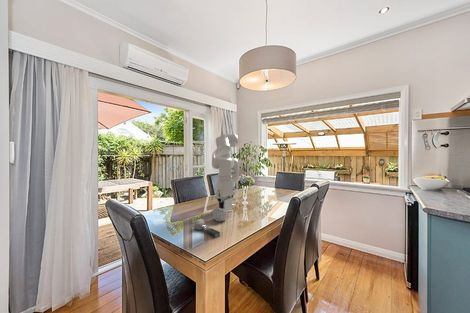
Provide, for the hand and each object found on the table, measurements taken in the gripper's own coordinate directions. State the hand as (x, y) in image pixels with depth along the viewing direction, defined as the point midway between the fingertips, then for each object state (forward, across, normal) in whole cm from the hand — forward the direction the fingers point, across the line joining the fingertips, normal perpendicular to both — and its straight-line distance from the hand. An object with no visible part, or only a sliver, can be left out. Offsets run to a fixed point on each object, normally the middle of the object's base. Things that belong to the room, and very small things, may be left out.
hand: (225, 206), depth 127 cm
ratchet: (+14, +12, -4) cm, 18 cm away
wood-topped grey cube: (+2, 0, 0) cm, 2 cm away
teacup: (+14, -8, -15) cm, 23 cm away
